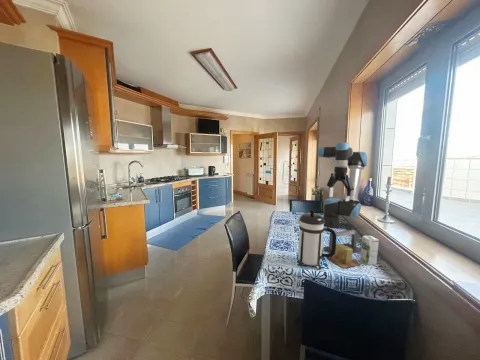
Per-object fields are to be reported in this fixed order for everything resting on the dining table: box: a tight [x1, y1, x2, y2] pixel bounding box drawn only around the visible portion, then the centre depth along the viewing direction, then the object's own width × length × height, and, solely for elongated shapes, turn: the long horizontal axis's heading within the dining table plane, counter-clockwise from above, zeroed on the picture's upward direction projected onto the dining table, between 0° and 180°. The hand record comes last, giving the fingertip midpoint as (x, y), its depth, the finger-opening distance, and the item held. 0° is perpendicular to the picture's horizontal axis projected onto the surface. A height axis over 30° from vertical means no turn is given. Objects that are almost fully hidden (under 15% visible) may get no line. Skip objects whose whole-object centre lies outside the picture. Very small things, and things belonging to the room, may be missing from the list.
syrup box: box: [359, 235, 380, 266], centre depth 113 cm, size 6×6×14 cm
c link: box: [334, 243, 354, 265], centre depth 114 cm, size 4×8×8 cm, turn 19°
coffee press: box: [296, 209, 337, 270], centre depth 110 cm, size 17×16×30 cm
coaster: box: [326, 255, 361, 270], centre depth 114 cm, size 12×12×1 cm
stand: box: [323, 229, 361, 256], centre depth 128 cm, size 20×10×12 cm, turn 109°
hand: (338, 198), depth 135 cm, fingers open, 13 cm apart
